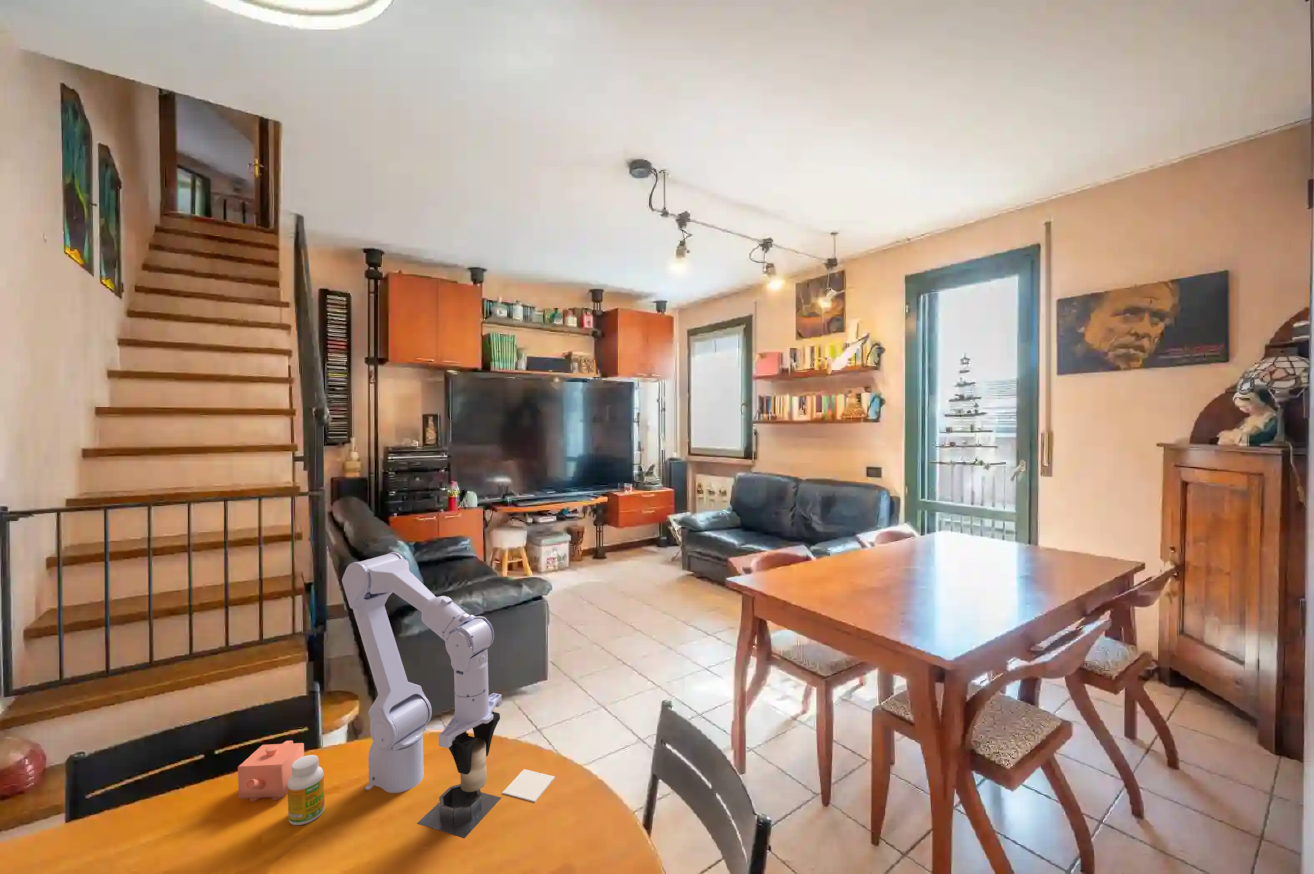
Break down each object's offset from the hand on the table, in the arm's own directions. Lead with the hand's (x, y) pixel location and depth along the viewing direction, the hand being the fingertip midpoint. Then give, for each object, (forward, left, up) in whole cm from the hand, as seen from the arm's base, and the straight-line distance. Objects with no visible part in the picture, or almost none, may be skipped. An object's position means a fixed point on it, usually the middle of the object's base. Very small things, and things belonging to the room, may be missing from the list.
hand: (473, 763), depth 96 cm
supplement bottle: (-28, -11, -9) cm, 31 cm away
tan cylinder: (0, 0, -4) cm, 4 cm away
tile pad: (+6, +8, -8) cm, 13 cm away
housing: (-2, -2, -8) cm, 9 cm away
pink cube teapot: (-40, -9, -9) cm, 41 cm away
